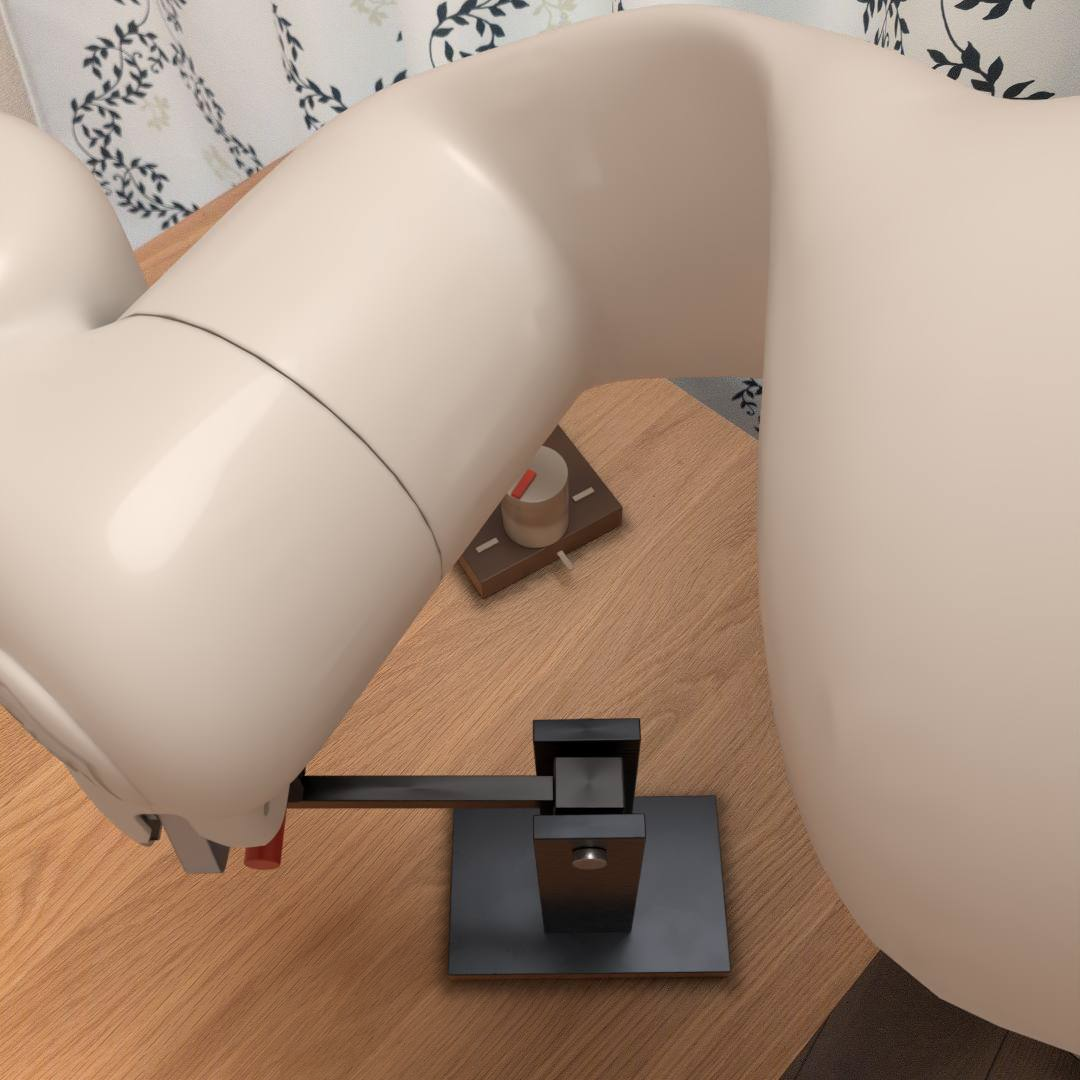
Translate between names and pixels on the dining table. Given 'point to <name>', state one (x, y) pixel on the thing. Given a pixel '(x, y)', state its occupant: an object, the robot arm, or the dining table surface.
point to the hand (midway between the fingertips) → (266, 783)
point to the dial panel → (590, 516)
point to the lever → (461, 794)
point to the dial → (538, 501)
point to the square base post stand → (588, 878)
